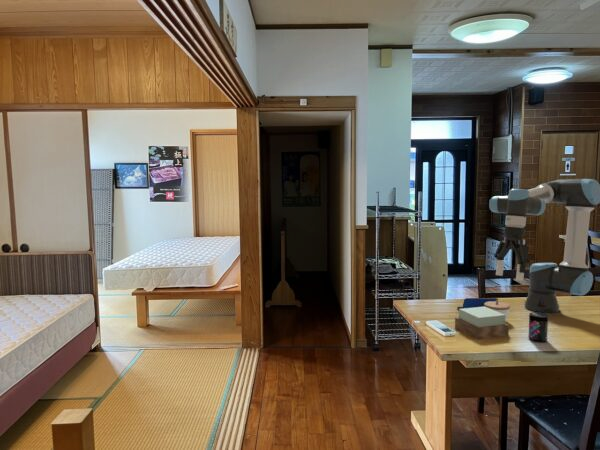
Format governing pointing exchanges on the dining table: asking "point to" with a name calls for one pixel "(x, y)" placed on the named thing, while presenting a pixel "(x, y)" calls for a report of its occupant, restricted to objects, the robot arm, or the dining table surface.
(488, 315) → the sage top block
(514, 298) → the dining table surface
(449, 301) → the dining table surface
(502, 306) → the lidded jar
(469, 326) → the walnut base block
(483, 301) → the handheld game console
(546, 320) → the supplement container
